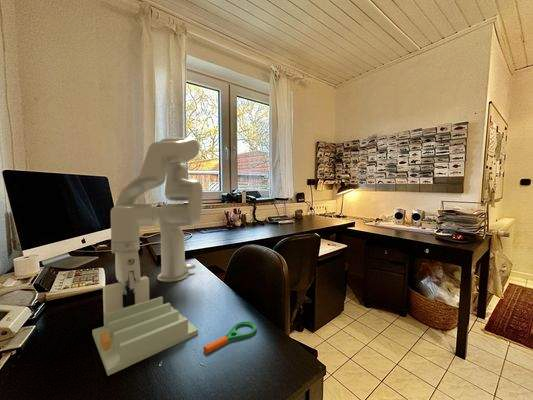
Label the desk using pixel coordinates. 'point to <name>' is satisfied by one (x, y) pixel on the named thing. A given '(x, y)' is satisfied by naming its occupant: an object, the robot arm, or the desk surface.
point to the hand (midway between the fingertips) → (127, 303)
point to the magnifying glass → (230, 336)
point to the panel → (116, 291)
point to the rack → (139, 333)
